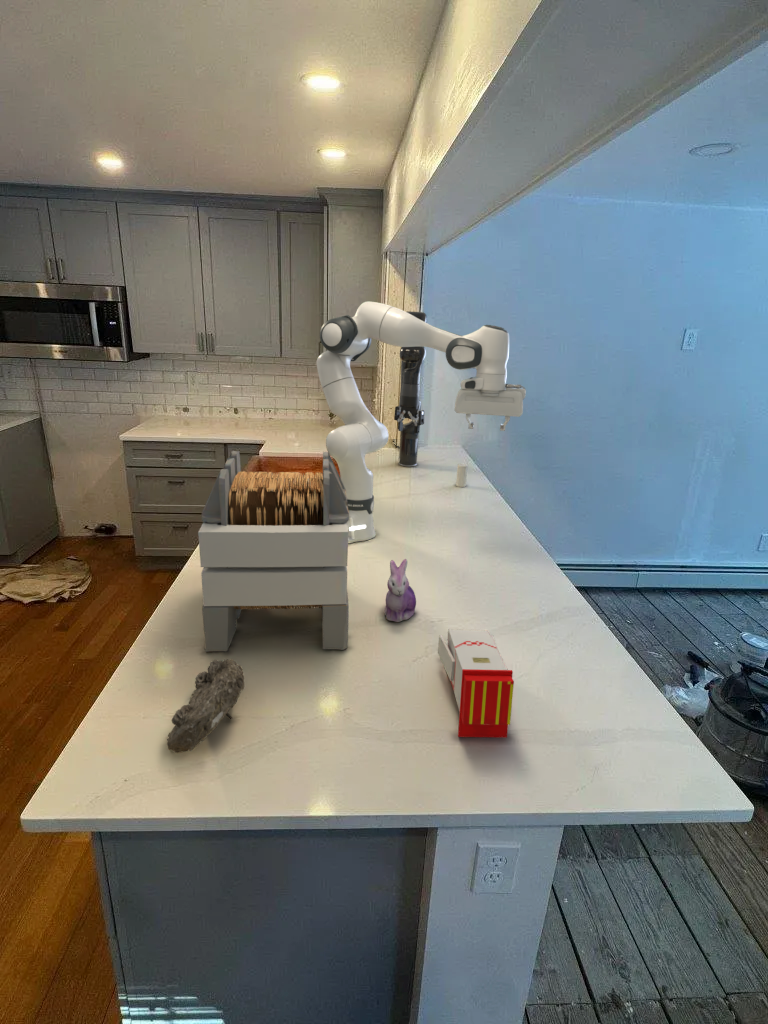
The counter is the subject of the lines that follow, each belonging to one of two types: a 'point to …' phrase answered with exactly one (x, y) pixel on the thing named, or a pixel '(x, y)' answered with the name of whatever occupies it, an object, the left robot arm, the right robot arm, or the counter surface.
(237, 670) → the fossil
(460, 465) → the canister
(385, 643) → the counter surface
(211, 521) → the grey record crate
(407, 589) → the figurine
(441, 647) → the toy
